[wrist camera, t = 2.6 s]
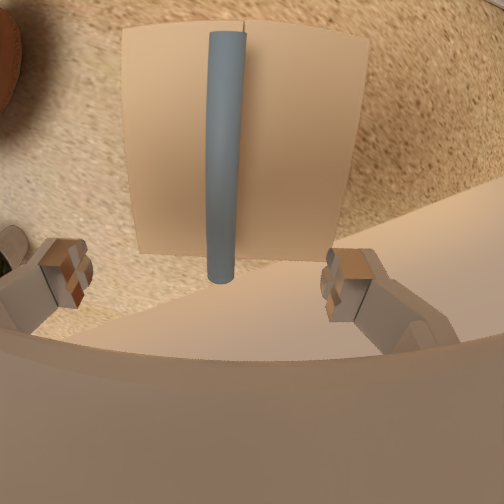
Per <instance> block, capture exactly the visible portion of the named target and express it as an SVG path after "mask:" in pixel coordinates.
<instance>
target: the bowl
mask: <svg viewBox="0 0 504 504" xmlns="http://www.w3.org/2000/svg"><path fill="white" fill-rule="evenodd" d="M21 61H22V45H21V36H20V29H19V27H18V26H17V24H16V22H15V21H14V19H13V17H12V15H11V14H10V13H9V12H8V11H6V10H4V9H2V8H0V116H1V114H2V113H3V111H4V110H5V108H6V107H7V105H8V103H9V102H10V100H11V98H12V95H13V92H14V89H15V86H16V83H17V80H18V78H19V74H20V69H21Z"/></svg>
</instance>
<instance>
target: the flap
mask: <svg viewBox="0 0 504 504" xmlns="http://www.w3.org/2000/svg"><path fill="white" fill-rule="evenodd" d="M243 23H244V22H243V21H195V22H178V23H167V24H157V25H149V26H142V27H135V28H129V29H123V30H122V50H121V86H122V113H123V130H124V143H125V154H126V164H127V173H128V182H129V190H130V197H131V204H132V211H133V217H134V223H135V229H136V235H137V241H138V246H139V252H140V254H161V255H182V256H204V257H207V273H208V279H209V280H210V281H211V282H213V283H215V284H226V283H229V282H231V281H232V280H233V278H234V265H235V239H236V215H237V193H238V172H239V153H240V134H241V117H242V100H243V85H244V69H245V55H246V41H247V33H245V32H243Z"/></svg>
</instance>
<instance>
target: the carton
mask: <svg viewBox="0 0 504 504" xmlns="http://www.w3.org/2000/svg"><path fill="white" fill-rule="evenodd" d="M198 21H243V20H198ZM180 22H195V21H180ZM243 22H244V23H243V32H245V33H247V41H246V55H245V69H244V85H243V100H242V117H241V134H240V153H239V172H238V193H237V215H236V239H235V258H240V259H264V260H289V261H314V262H327V261H326V255H327V252H328V250H329V248H332V245H333V241H334V237H335V233H336V229H337V225H338V221H339V217H340V213H341V209H342V204H343V200H344V196H345V191H346V187H347V182H348V177H349V173H350V168H351V163H352V158H353V153H354V148H355V142H356V137H357V131H358V126H359V120H360V114H361V108H362V101H363V95H364V88H365V80H366V73H367V65H368V57H369V48H370V39H368V38H365V37H361V36H357V35H353V34H349V33H344V32H340V31H335V30H330V29H325V28H320V27H314V26H308V25H301V24H294V23H286V22H277V21H267V20H252V19H245V21H243ZM168 23H178V22H168ZM159 24H167V23H159ZM150 25H157V24H150ZM143 26H149V25H143ZM136 27H142V26H136ZM130 28H135V27H130ZM124 29H129V28H124Z"/></svg>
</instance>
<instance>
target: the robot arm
mask: <svg viewBox="0 0 504 504" xmlns="http://www.w3.org/2000/svg"><path fill="white" fill-rule="evenodd" d="M486 1H488V2H490V3H492V4H494V5H496V6H498V7H500V8H502V9H504V0H486ZM87 250H88V249H87V246H86V243H85V241H84V240H82V239H73V238H47V239H46V240H45V241H44V242H43V243H42V245H41V246H40V247H39V248H38V250H37V251H36V252H35V253H34V255H33V256H32V257H31V258H30V260H29V261H28V262H27V264H22V265H21V266H19V267H17V268H16V269H14V270H12V271H11V272H9V273H8V274H6V275H4V276H3V277H1V278H0V504H504V333H501V334H497V335H493V336H489V337H485V338H481V339H476V340H472V341H467V342H462V343H461V342H460V341H459V339H458V337H457V335H456V333H455V331H454V329H453V327H452V325H451V324H450V322H449V320H448V318H447V317H446V316H445V315H443V314H442V313H441V312H439V311H438V310H437V309H435V308H434V307H433V306H431V305H430V304H428V303H427V302H426V301H424V300H423V299H422V298H420V297H419V296H417V295H416V294H414V293H413V292H412V291H410V290H409V289H407V288H406V287H404V286H403V285H402V284H400V283H399V282H397V281H396V280H392V279H390V278H389V276H388V274H387V273H386V270H385V269H384V267H383V265H382V264H381V262H380V260H379V258H378V256H377V255H376V253H375V251H374V250H372V249H343V248H329V250H328V252H327V255H326V261H327V264H328V265H327V266H326V267H325V268H324V269H323V270H322V275H321V283H320V287H321V293H322V296H323V298H324V299H326V300H327V303H326V306H325V308H326V311H327V315H328V318H329V321H330V322H354V324H355V325H356V326H357V327H358V328H359V329H360V330H361V331H362V332H363V333H364V334H365V336H366V337H367V338H368V339H369V340H370V341H371V342H372V343H373V344H374V345H375V346H376V347H377V348H378V349H379V350H380V351H381V352H382V353H383V355H378V356H368V357H357V358H344V359H330V360H310V361H222V360H202V359H186V358H174V357H163V356H152V355H144V354H135V353H126V352H120V351H113V350H106V349H99V348H93V347H88V346H82V345H77V344H71V343H66V342H61V341H57V340H52V339H47V338H43V337H39V336H35V335H30V334H31V333H32V332H33V331H34V330H35V329H36V328H37V327H38V326H39V325H40V324H42V323H43V322H44V321H45V320H46V319H47V318H48V317H49V316H50V315H51V314H52V313H53V312H55V311H56V310H57V309H58V307H64V308H73V309H78V307H79V305H80V303H81V301H82V299H83V297H84V292H83V290H84V289H86V288H87V287H89V285H90V283H91V281H92V277H93V266H92V262H91V260H90V259H89V258H88V257H87V256H86V252H87Z"/></svg>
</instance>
